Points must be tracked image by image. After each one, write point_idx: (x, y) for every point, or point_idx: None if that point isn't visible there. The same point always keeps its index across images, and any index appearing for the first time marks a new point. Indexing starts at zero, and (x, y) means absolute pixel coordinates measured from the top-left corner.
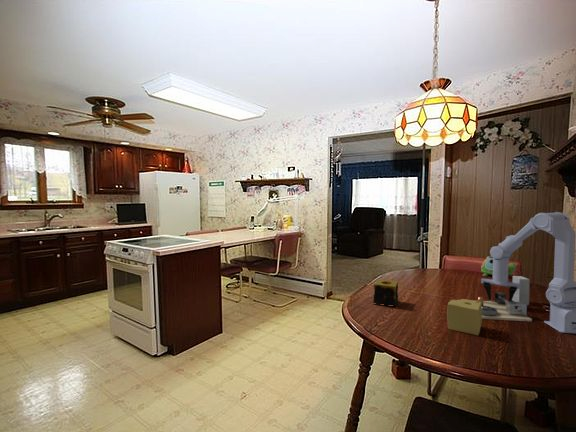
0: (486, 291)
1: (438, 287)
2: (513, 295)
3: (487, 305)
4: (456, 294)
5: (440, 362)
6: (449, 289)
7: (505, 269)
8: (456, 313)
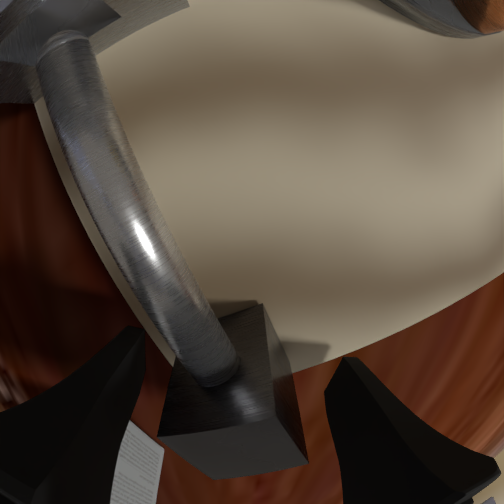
0: (425, 423)
1: (493, 415)
2: (148, 473)
3: (395, 176)
4: (478, 382)
5: None
6: (466, 425)
7: None
8: None
